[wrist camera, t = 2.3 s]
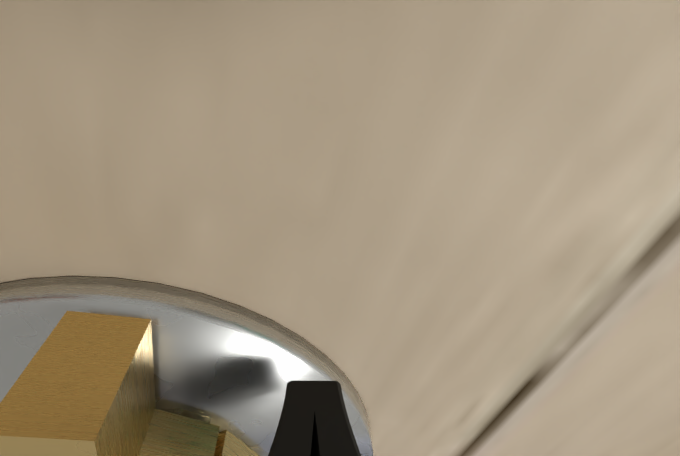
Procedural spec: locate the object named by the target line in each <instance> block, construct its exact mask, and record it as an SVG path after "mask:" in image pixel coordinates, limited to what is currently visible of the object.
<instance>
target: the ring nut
mask: <svg viewBox="0 0 680 456" xmlns="http://www.w3.org/2000/svg"><path fill="white" fill-rule="evenodd" d="M219 428H220V426H217V425H214V424H210V423H206V422H203V421H199V420H196V419H192V418H188V417H185V416H181V415H178V414H174V413H170V412H167V411H163V410H159V409H156V402H155V383H154V364H153V345H152V326H151V319H144V318H134V317H124V316H115V315H105V314H95V313H86V312H76V311H66V313H65V314H64V316H63V317H62V318H61V320H60V321H59V322H58V324H57V325H56V327H55V328H54V329H53V331H52V332H51V334H50V335H49V336H48V338H47V339H46V340H45V342H44V343H43V345H42V346H41V347H40V349H39V350H38V351H37V353H36V354H35V356H34V357H33V358H32V360H31V361H30V362H29V364H28V365H27V367H26V368H25V369H24V371H23V372H22V374H21V375H20V376H19V378H18V379H17V380H16V382H15V383H14V385H13V386H12V387H11V389H10V390H9V391H8V393H7V394H6V396H5V397H4V398H3V400H2V401H1V403H0V456H260V455H258V454H257V453H256V452H255V451H253V450H252V449H251V448H250V447H248V446H247V445H246V444H245V443H243V442H242V441H241V440H239V439H238V438H237V437H236V436H234V435H233V434H232V433H231V432H229V431H228V430H224V431H222V432H219Z"/></svg>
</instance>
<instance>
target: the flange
mask: <svg viewBox="0 0 680 456" xmlns="http://www.w3.org/2000/svg"><path fill="white" fill-rule="evenodd" d="M66 311H76V312H86V313H95V314H105V315H115V316H124V317H134V318H144V319H151V326H152V345H153V364H154V383H155V402H156V409H159V410H163V411H167V412H170V413H174V414H178V415H181V416H185V417H188V418H192V419H196V420H199V421H203V422H206V423H210V424H214V425H217V426H220V428H219V432H222V431H224V430H228V431H229V432H231V433H232V434H233V435H234V436H236V437H237V438H238V439H239V440H241V441H242V442H243V443H245V444H246V445H247V446H248V447H250V448H251V449H252V450H253V451H255V452H256V453H257V454H258V455H260V456H268V454H269V451H270V448H271V445H272V443H273V440H274V437H275V434H276V430H277V427H278V423H279V420H280V416H281V412H282V408H283V404H284V399H285V394H286V387H287V383H288V382H290V381H338V382H339V383H340V384H341V390H342V395H343V399H344V403H345V407H346V411H347V414H348V418H349V421H350V424H351V427H352V431H353V434H354V437H355V440H356V443H357V445H358V448H359V451H360V454H361V456H373V449H372V441H371V432H370V426H369V421H368V417H367V412H366V409H365V407H364V405H363V403H362V400H361V398H360V396H359V394H358V392H357V391H356V389H355V388H354V386H353V385H352V384H351V382H350V381H349V379H348V378H347V377H346V375H345V374H344V373H343V372H342V371H341V370H340V369H339V368H338V367H337V366H336V365H335V364H334V363H333V362H332V361H331V360H330V359H329V358H328V357H327V356H326V355H325V354H324V353H322V352H321V351H320V350H318V349H317V348H316V347H314V346H313V345H312V344H310V343H309V342H308V341H306V340H305V339H304V338H302V337H301V336H299V335H297V334H296V333H294V332H292V331H290V330H289V329H287V328H285V327H283V326H282V325H280V324H278V323H277V322H275V321H273V320H271V319H268V318H266V317H264V316H262V315H259V314H257V313H255V312H253V311H250V310H248V309H246V308H244V307H241V306H239V305H236V304H233V303H230V302H227V301H224V300H221V299H218V298H214V297H211V296H208V295H205V294H202V293H198V292H194V291H189V290H185V289H181V288H176V287H172V286H167V285H163V284H158V283H150V282H143V281H135V280H128V279H120V278H104V277H77V276H68V277H52V278H35V279H25V280H19V281H14V282H8V283H2V284H0V403H1V401H2V400H3V398H4V397H5V396H6V394H7V393H8V391H9V390H10V389H11V387H12V386H13V385H14V383H15V382H16V380H17V379H18V378H19V376H20V375H21V374H22V372H23V371H24V369H25V368H26V367H27V365H28V364H29V362H30V361H31V360H32V358H33V357H34V356H35V354H36V353H37V351H38V350H39V349H40V347H41V346H42V345H43V343H44V342H45V340H46V339H47V338H48V336H49V335H50V334H51V332H52V331H53V329H54V328H55V327H56V325H57V324H58V322H59V321H60V320H61V318H62V317H63V316H64V314H65V313H66Z"/></svg>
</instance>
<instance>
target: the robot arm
mask: <svg viewBox="0 0 680 456" xmlns="http://www.w3.org/2000/svg"><path fill="white" fill-rule="evenodd" d="M268 456H361V454H360V451H359V448H358V445H357V443H356V440H355V437H354V434H353V431H352V427H351V424H350V421H349V418H348V414H347V411H346V407H345V403H344V399H343V395H342V390H341V384H340V383H339V382H338V381H290V382H288V383H287V387H286V394H285V399H284V404H283V408H282V412H281V416H280V420H279V423H278V427H277V430H276V434H275V437H274V440H273V443H272V445H271V448H270V451H269V454H268Z"/></svg>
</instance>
